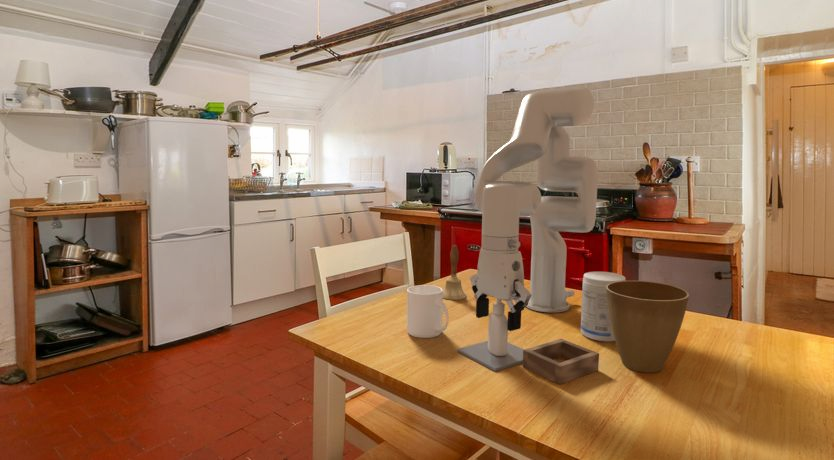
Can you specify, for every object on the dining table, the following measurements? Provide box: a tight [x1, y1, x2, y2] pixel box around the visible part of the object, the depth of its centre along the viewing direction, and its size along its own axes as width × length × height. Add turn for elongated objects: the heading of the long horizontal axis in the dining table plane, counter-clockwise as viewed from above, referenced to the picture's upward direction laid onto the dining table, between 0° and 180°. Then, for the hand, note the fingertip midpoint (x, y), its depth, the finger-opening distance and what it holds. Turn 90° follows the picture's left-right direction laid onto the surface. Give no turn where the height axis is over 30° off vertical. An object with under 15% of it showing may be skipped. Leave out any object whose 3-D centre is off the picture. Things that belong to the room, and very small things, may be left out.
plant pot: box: [606, 280, 690, 373], centre depth 96 cm, size 15×15×16 cm
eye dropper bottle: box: [487, 298, 509, 356], centre depth 101 cm, size 4×6×12 cm
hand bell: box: [443, 244, 467, 301], centre depth 146 cm, size 8×8×16 cm
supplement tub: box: [580, 271, 627, 343], centre depth 113 cm, size 10×10×15 cm
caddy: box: [522, 338, 600, 385], centre depth 95 cm, size 11×9×4 cm
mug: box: [406, 284, 449, 339], centre depth 113 cm, size 9×12×11 cm
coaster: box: [456, 340, 525, 372], centre depth 102 cm, size 12×12×1 cm
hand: (497, 322), depth 101 cm, fingers open, 9 cm apart
